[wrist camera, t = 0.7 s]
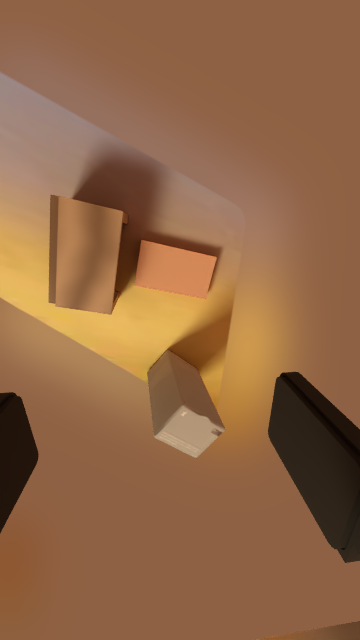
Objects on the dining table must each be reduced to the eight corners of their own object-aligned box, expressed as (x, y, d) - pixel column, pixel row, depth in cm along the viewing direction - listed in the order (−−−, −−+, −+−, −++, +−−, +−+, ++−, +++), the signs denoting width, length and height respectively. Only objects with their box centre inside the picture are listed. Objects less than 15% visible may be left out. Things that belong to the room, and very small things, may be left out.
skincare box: (146, 370, 44) (146, 440, 29) (170, 344, 43) (182, 403, 28) (178, 391, 47) (193, 464, 32) (202, 367, 45) (228, 432, 31)
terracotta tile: (135, 282, 38) (134, 285, 36) (141, 239, 36) (141, 239, 34) (202, 295, 40) (205, 298, 38) (213, 255, 38) (216, 257, 36)
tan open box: (66, 290, 37) (45, 304, 29) (70, 201, 32) (47, 193, 25) (118, 298, 38) (111, 314, 31) (128, 215, 34) (123, 211, 26)
